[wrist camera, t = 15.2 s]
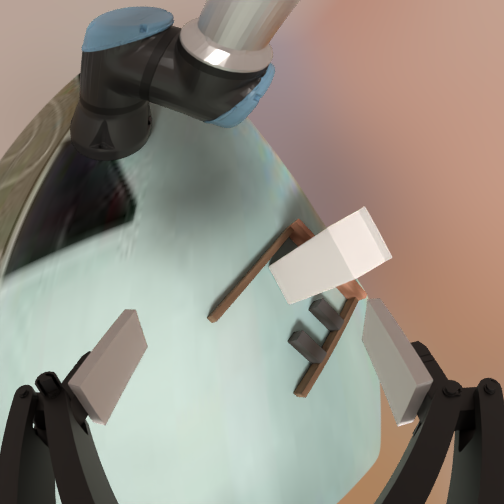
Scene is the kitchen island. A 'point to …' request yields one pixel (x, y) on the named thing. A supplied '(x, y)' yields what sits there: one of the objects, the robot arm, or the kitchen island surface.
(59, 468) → the robot arm
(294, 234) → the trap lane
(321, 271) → the milk carton
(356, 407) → the kitchen island surface
